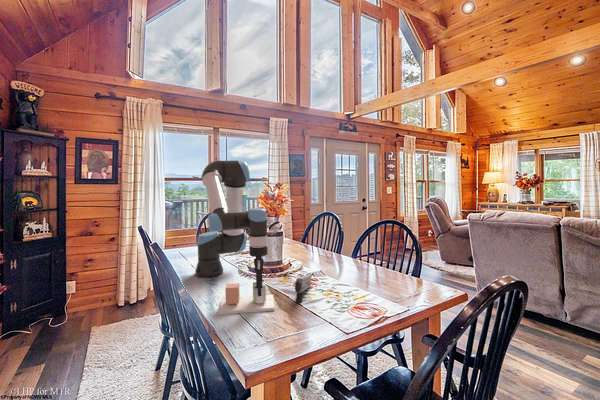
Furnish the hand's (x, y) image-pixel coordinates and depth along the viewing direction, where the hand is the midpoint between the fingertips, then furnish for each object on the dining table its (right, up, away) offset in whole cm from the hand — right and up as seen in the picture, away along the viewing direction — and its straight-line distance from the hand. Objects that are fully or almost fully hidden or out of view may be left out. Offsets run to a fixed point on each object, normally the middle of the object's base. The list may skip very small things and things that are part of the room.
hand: (259, 300), depth 126 cm
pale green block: (0, 0, 0) cm, 0 cm away
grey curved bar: (+19, -1, +11) cm, 22 cm away
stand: (-5, -2, -1) cm, 5 cm away
